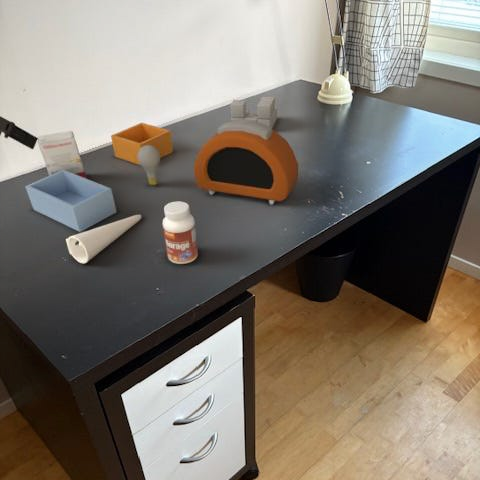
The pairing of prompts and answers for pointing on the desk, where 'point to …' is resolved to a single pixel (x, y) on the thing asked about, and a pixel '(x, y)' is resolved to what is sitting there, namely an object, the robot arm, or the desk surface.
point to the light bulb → (149, 162)
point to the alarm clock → (247, 162)
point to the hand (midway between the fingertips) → (17, 137)
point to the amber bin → (141, 141)
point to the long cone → (98, 238)
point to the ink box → (61, 153)
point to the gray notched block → (264, 111)
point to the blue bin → (71, 199)
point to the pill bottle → (179, 233)
